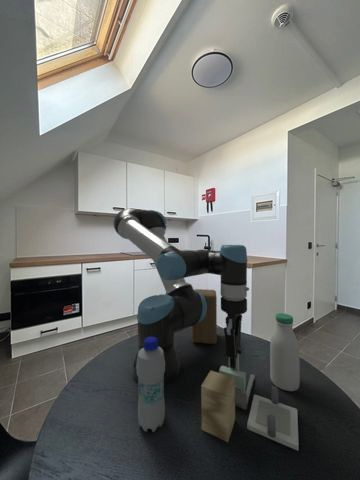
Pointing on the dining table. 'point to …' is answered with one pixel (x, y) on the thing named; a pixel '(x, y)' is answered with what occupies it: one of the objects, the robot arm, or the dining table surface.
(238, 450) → the dining table surface
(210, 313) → the wooden block
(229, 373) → the cover
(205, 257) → the robot arm
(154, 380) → the bottle
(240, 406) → the housing frame
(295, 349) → the milk bottle
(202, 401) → the block
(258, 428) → the seat plate
